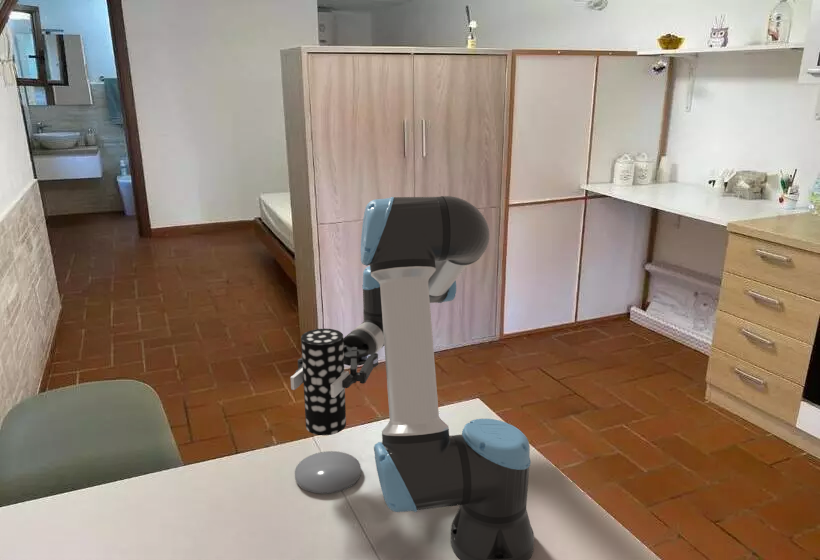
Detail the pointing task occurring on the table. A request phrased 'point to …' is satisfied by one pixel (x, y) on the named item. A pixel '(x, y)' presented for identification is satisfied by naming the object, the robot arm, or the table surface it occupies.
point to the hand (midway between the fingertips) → (312, 387)
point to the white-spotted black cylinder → (323, 381)
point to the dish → (327, 472)
